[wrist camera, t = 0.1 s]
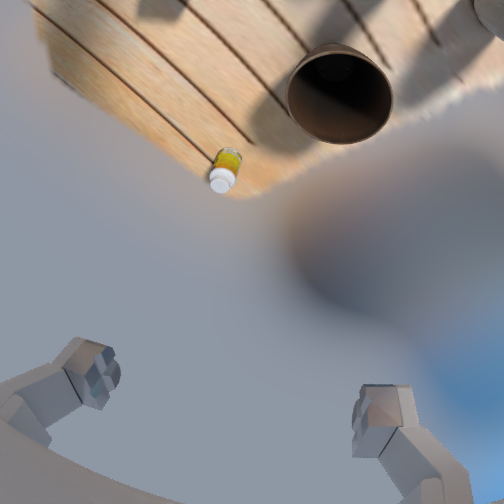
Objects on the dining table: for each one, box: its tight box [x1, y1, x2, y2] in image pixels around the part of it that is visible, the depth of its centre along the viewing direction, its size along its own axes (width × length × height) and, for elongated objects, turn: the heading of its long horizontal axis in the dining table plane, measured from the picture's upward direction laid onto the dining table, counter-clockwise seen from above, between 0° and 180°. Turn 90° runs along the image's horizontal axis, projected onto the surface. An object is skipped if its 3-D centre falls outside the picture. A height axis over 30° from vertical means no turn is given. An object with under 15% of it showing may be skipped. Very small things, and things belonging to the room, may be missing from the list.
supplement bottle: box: [209, 148, 242, 193], centre depth 67 cm, size 6×6×10 cm
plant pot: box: [285, 44, 393, 144], centre depth 43 cm, size 15×15×16 cm
